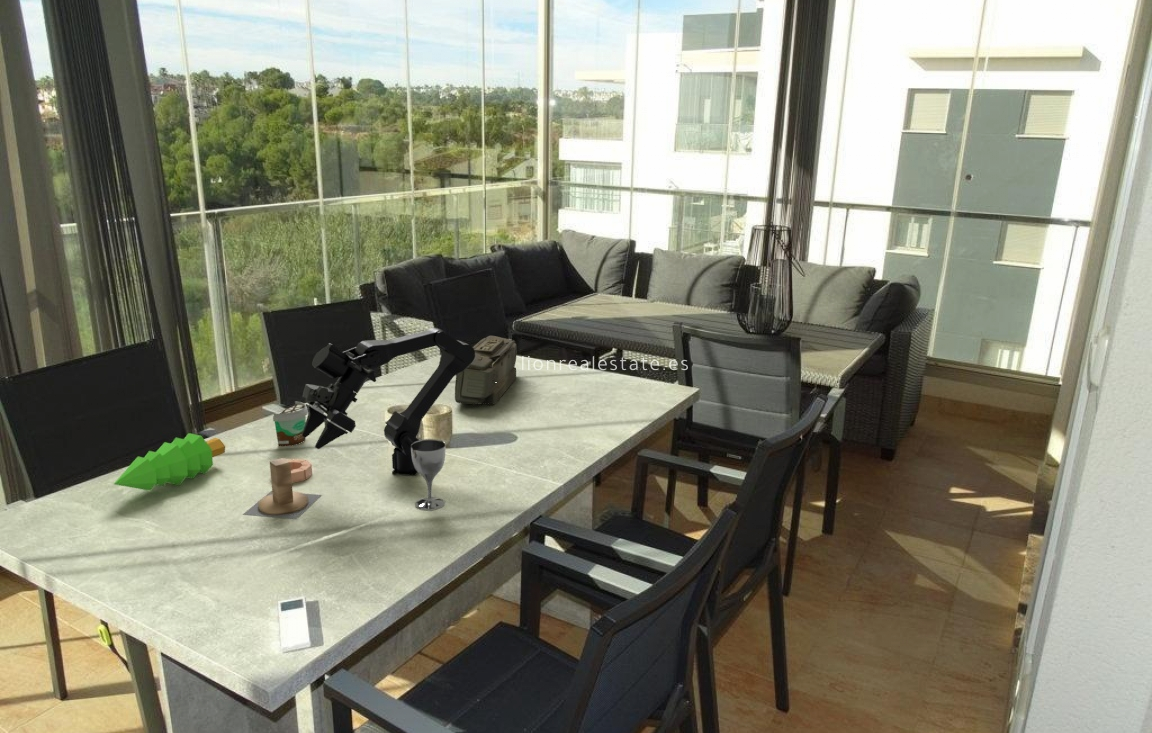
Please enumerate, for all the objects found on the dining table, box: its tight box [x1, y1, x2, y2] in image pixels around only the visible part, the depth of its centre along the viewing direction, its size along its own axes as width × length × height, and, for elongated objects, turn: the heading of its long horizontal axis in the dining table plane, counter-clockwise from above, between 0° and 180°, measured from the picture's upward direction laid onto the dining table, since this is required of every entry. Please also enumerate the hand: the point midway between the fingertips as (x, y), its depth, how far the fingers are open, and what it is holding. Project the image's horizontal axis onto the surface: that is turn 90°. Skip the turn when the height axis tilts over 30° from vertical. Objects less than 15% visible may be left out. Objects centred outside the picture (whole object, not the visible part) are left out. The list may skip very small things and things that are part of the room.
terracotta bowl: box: [287, 458, 313, 484], centre depth 202 cm, size 9×9×3 cm
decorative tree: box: [113, 433, 226, 491], centre depth 195 cm, size 11×12×30 cm
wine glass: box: [411, 438, 447, 511], centre depth 187 cm, size 8×8×15 cm
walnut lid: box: [258, 457, 308, 515], centre depth 184 cm, size 11×11×11 cm
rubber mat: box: [242, 490, 323, 520], centre depth 186 cm, size 13×13×1 cm
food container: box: [272, 401, 308, 447], centre depth 225 cm, size 12×6×10 cm, turn 168°
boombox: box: [454, 335, 518, 406], centre depth 274 cm, size 44×17×20 cm, turn 170°
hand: (309, 442), depth 190 cm, fingers open, 9 cm apart
